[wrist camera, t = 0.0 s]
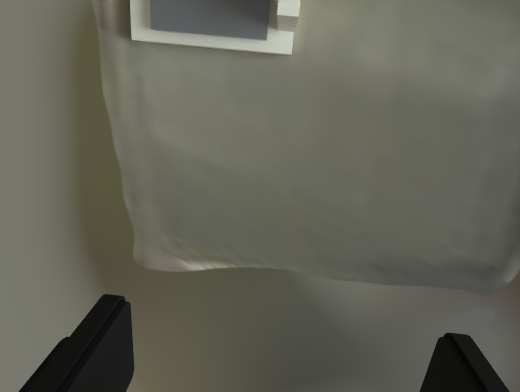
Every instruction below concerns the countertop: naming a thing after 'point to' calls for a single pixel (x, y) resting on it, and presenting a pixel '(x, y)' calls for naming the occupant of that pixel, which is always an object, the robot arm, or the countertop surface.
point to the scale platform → (212, 17)
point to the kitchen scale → (278, 36)
